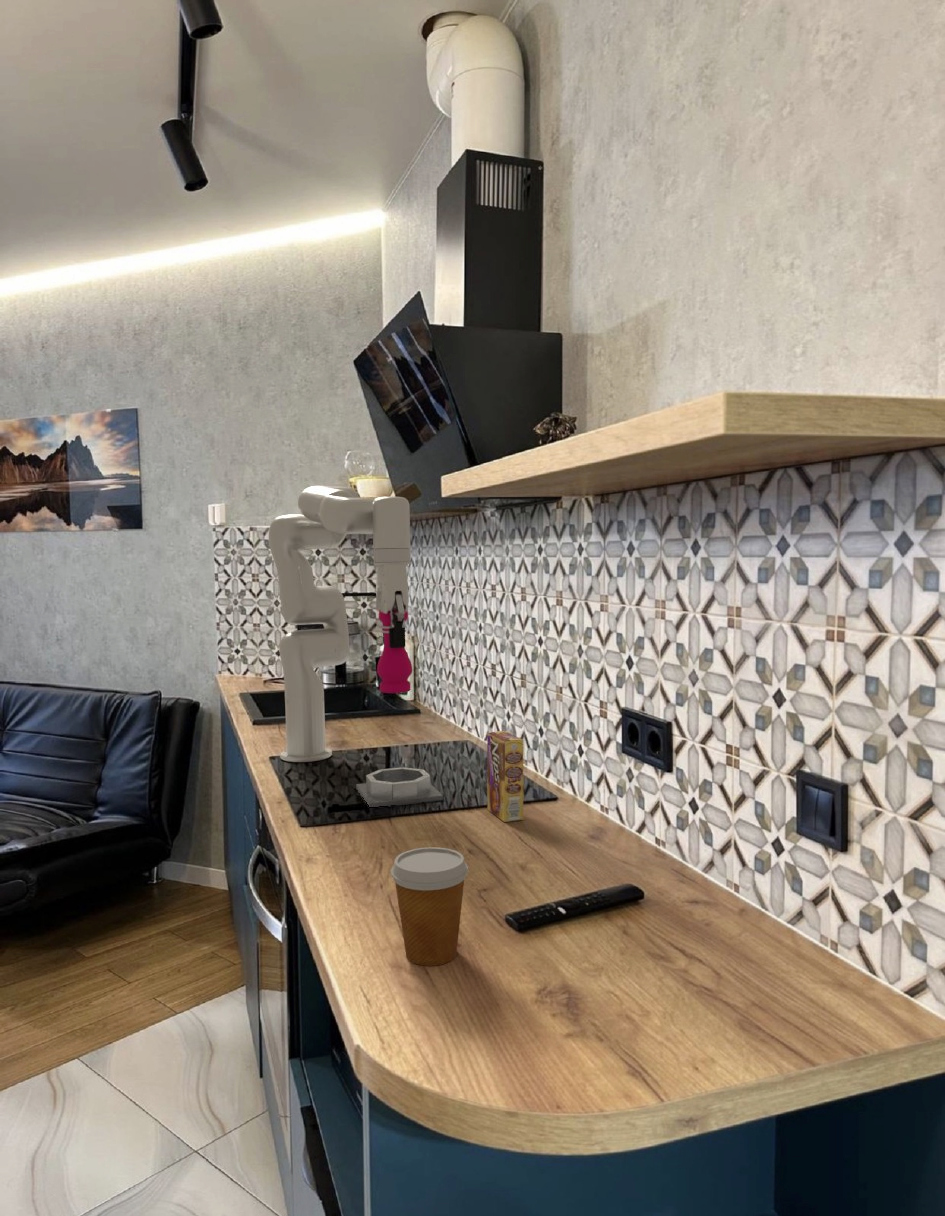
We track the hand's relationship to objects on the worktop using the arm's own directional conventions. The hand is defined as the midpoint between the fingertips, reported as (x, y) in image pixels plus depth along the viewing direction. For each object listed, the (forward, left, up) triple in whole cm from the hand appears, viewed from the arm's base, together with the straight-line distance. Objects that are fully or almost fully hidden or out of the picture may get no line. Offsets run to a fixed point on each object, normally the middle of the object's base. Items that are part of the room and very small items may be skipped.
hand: (394, 645), depth 172 cm
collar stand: (0, 0, -31) cm, 31 cm away
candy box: (+21, +16, -31) cm, 41 cm away
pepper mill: (0, 0, -10) cm, 10 cm away
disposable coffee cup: (+70, -12, -31) cm, 78 cm away
